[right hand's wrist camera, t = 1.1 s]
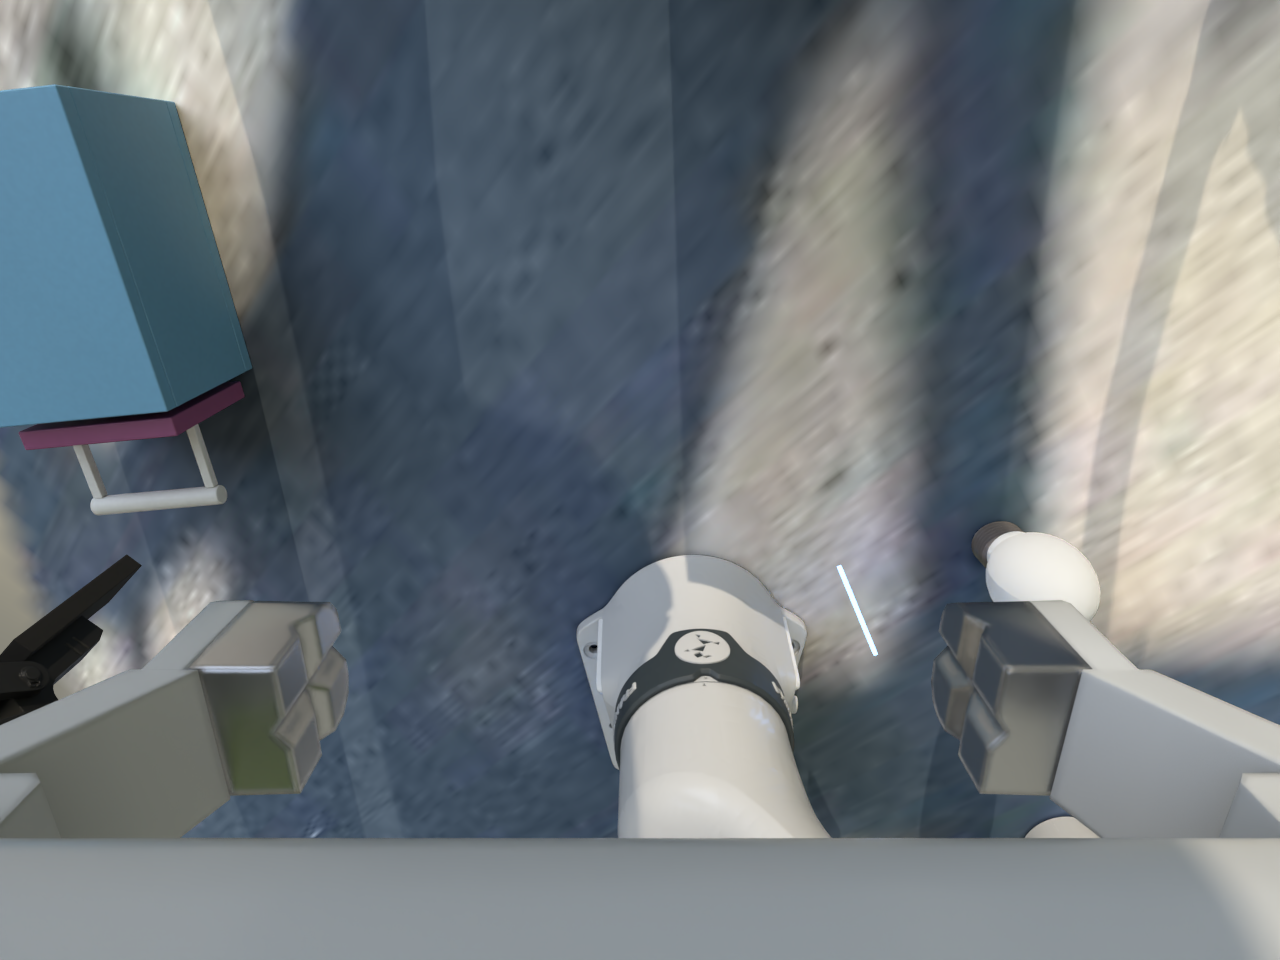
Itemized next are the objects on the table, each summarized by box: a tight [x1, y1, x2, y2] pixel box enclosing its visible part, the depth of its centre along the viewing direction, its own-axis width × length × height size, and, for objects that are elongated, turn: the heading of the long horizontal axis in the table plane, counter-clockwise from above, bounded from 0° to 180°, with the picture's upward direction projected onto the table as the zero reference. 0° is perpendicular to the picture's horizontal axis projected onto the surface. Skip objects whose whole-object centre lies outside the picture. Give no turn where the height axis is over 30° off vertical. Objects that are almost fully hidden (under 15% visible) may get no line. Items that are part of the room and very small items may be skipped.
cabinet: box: [0, 85, 252, 428], centre depth 47 cm, size 17×11×11 cm, turn 6°
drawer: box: [19, 381, 245, 515], centre depth 49 cm, size 22×10×9 cm, turn 6°
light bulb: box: [972, 521, 1100, 622], centre depth 55 cm, size 7×7×11 cm
